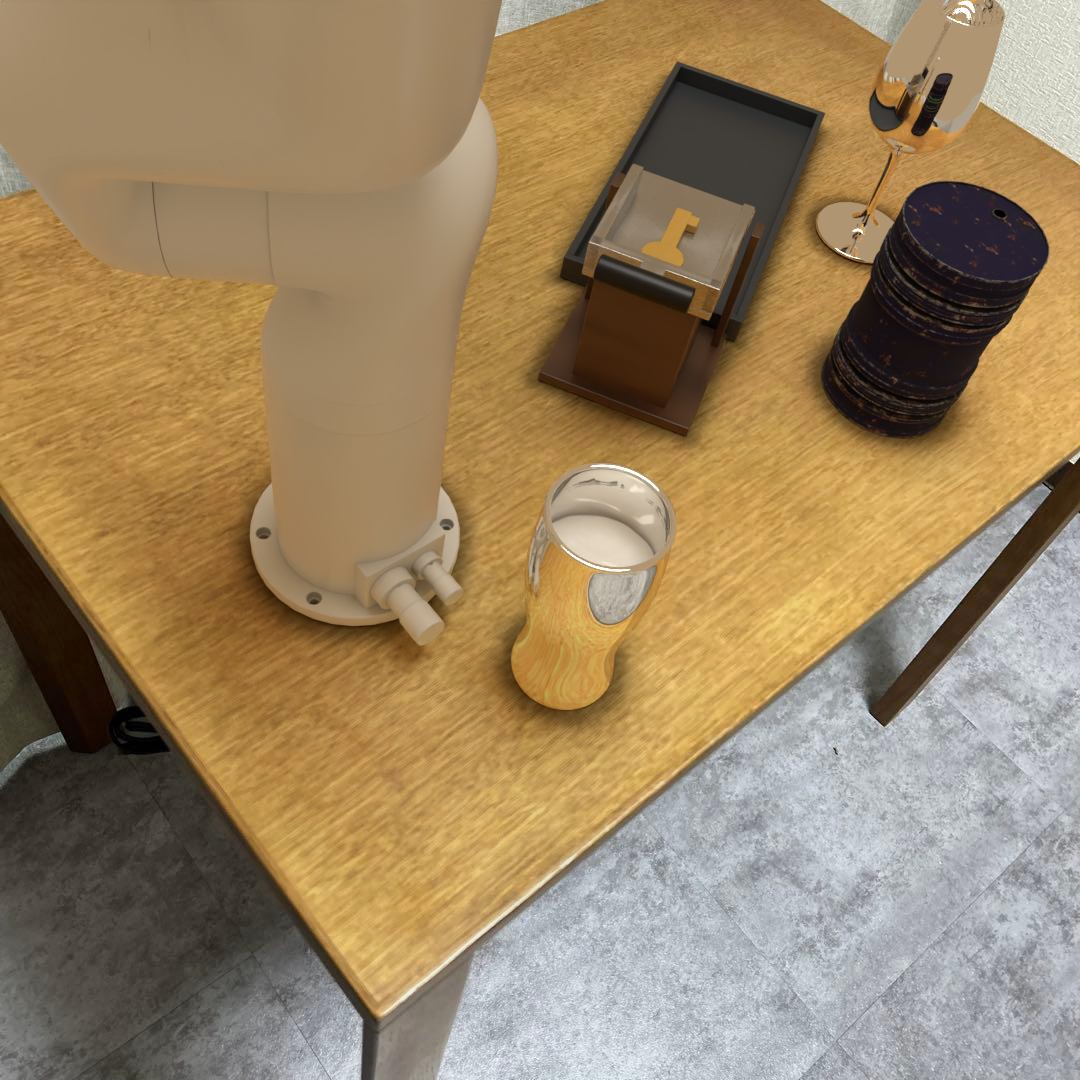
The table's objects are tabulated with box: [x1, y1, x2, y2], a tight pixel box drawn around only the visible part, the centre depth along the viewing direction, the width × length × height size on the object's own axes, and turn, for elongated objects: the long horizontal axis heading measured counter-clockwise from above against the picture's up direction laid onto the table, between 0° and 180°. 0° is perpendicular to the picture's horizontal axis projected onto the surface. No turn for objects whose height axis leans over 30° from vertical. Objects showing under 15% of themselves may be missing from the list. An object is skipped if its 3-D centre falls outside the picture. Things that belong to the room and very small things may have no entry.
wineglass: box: [815, 0, 1006, 264], centre depth 85 cm, size 8×8×20 cm
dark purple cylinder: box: [820, 180, 1050, 439], centre depth 77 cm, size 10×10×15 cm
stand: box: [537, 172, 765, 437], centre depth 76 cm, size 10×11×11 cm
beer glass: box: [510, 461, 678, 711], centre depth 59 cm, size 7×7×15 cm
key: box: [641, 208, 700, 267], centre depth 72 cm, size 7×3×1 cm, turn 159°
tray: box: [559, 61, 826, 343], centre depth 92 cm, size 30×14×2 cm, turn 159°
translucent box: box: [582, 164, 755, 321], centre depth 71 cm, size 14×9×4 cm, turn 159°
